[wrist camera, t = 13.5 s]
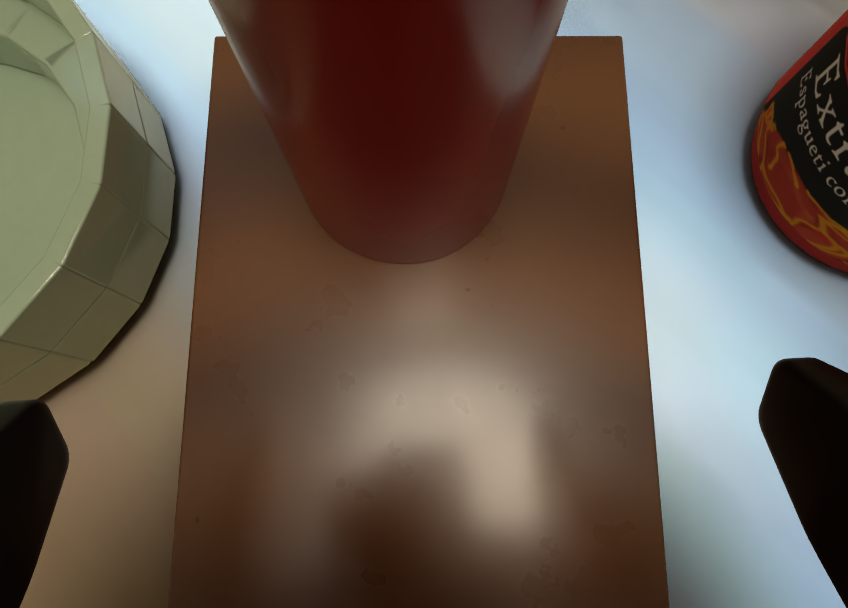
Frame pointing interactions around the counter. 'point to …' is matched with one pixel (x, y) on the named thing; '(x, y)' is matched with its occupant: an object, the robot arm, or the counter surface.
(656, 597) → the cutting board
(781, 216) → the canned food
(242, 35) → the drink can
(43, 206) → the bowl
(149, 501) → the counter surface
